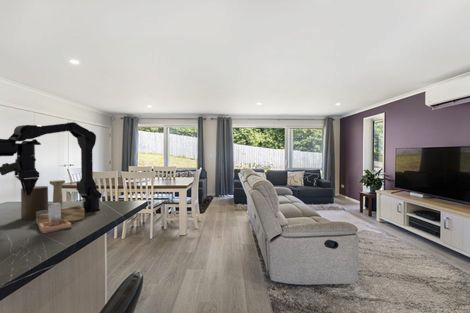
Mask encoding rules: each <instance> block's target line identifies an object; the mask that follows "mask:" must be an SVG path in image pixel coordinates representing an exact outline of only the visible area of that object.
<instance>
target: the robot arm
mask: <svg viewBox="0 0 470 313" xmlns="http://www.w3.org/2000/svg"><path fill="white" fill-rule="evenodd" d="M62 132H63V133H64V132H69V133H70V134H71V136H73V137H74V138H76V140H77V145H78V146H79V148H80V152H81V154H80V160H81V161H80V166H81V168H80V169H81V172H80V173H81V178H80V180H79V181H77V182H76V191H77V193H78V194H79V195H80V197H81V198H82V199H83V201H82V203H81V204H82V206H81V207H82V208H84V213H90V212H95V211H101V208H100V199H101V198H102V196H103V193H101V191H99V190H98V188H97V183H96V181H95V179H94V176H93V175H94V174H93V173H94V171H93V165H94V164H93V149H94V147H95V145H96V142H97V135H96V134H95V132H94V131H91V130H89V129H87V128H85V127H84V126H82V125H80V124H78V123H77V122H75V121H71V122H69V121H68V122H64V123H57V124H50V125H48V124H47V125H38V124H36V125H35V124H25V125H24V124H22V125H18V126H16V127H15V128H14V129H13V133H12V134H11V135H10V136H9V137H8V138H0V157H13V156H14V155H16V158H15V162H12V163H11V162H10V163H8V162H6V163H2V165H1V166H0V175H1V176H6V175H7V174H9V173H13V172H14V177H15V178H16V179H17V180H18V181H19V182H20V185H21V188H22V189H23V192H24V193H26V195H27V196H29V195H30V194H31V192H32V190H33V188H34V186H36V184H37V182H38V180H39V178H40V172H39V171H38V170H37V169H36V161H37V159H36V149H35V148H36V147H35V146H40V145H41V146H42V143H40V142H39V141H38V140H37V139H36V138H39V137H41V136H45V135H48V134H49V135H50V134H56V133H58V134H59V133H62ZM20 142H21V143H20Z"/></svg>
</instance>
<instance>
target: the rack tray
mask: <svg viewBox="0 0 470 313" xmlns="http://www.w3.org/2000/svg"><path fill="white" fill-rule="evenodd" d="M68 229H72V223H71V221H68V220H66V219H63V220H61V225H56V226H51V227H49V222H45V223H39V225H38V230H39V231H40V232H41V233H42V234H46V233H52V232H58V231H62V230H63V231H64V230H68Z"/></svg>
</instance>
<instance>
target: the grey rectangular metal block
mask: <svg viewBox="0 0 470 313" xmlns="http://www.w3.org/2000/svg"><path fill="white" fill-rule="evenodd" d="M41 214H48V210H42V211H36V218H37V219H38V218H39V215H41Z"/></svg>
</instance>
